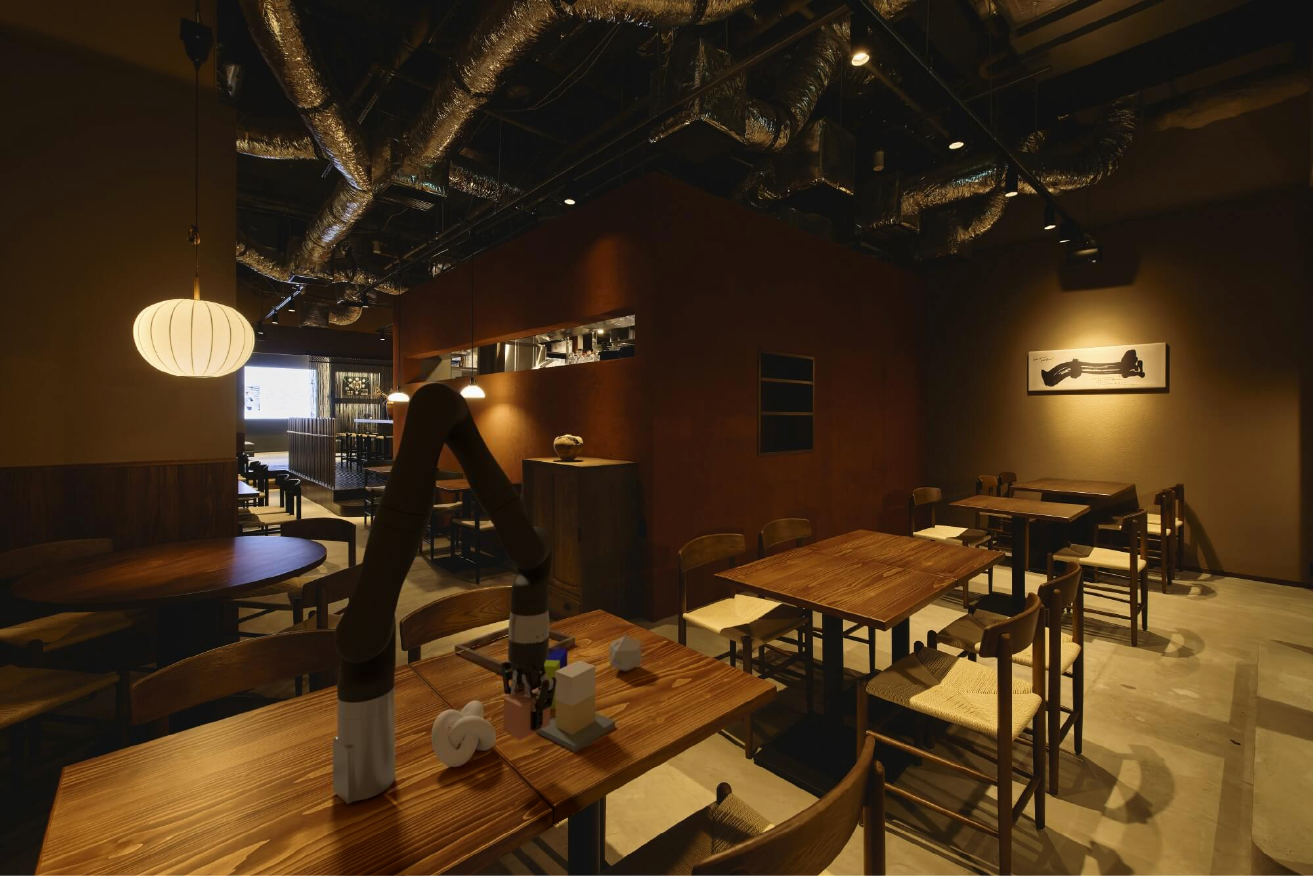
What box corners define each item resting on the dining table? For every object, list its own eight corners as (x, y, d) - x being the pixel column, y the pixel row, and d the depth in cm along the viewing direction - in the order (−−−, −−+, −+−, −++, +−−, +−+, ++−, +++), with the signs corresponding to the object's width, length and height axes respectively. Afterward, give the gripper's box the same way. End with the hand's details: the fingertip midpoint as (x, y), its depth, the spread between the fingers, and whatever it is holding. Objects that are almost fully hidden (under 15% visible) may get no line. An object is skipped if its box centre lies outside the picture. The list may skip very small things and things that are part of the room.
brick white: (571, 706, 112) (571, 677, 112) (555, 699, 115) (555, 671, 115) (595, 693, 118) (595, 666, 118) (579, 687, 121) (579, 660, 121)
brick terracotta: (519, 739, 98) (520, 706, 98) (503, 730, 101) (503, 698, 101) (549, 724, 103) (550, 693, 103) (533, 715, 107) (533, 685, 107)
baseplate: (575, 752, 108) (575, 746, 108) (535, 732, 115) (535, 726, 115) (615, 726, 118) (615, 721, 118) (576, 709, 125) (576, 704, 125)
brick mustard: (571, 735, 112) (571, 706, 112) (555, 727, 115) (555, 699, 115) (595, 720, 118) (595, 693, 118) (579, 713, 121) (579, 687, 121)
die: (604, 669, 147) (604, 632, 147) (635, 663, 151) (634, 627, 151) (615, 682, 139) (615, 643, 139) (647, 675, 143) (647, 637, 143)
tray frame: (504, 677, 142) (504, 666, 142) (454, 655, 156) (454, 645, 156) (575, 647, 162) (575, 637, 162) (525, 630, 176) (525, 621, 176)
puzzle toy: (567, 689, 135) (567, 649, 135) (556, 709, 125) (555, 666, 125) (528, 687, 136) (528, 648, 136) (514, 707, 126) (514, 664, 126)
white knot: (432, 743, 112) (432, 700, 112) (493, 732, 116) (492, 690, 116) (431, 775, 101) (430, 728, 101) (497, 761, 105) (497, 716, 105)
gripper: (489, 630, 104) (487, 718, 104) (537, 649, 95) (535, 746, 95) (521, 620, 110) (519, 704, 110) (569, 638, 101) (567, 729, 101)
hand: (526, 723), depth 102 cm, fingers closed on brick terracotta, 5 cm apart
